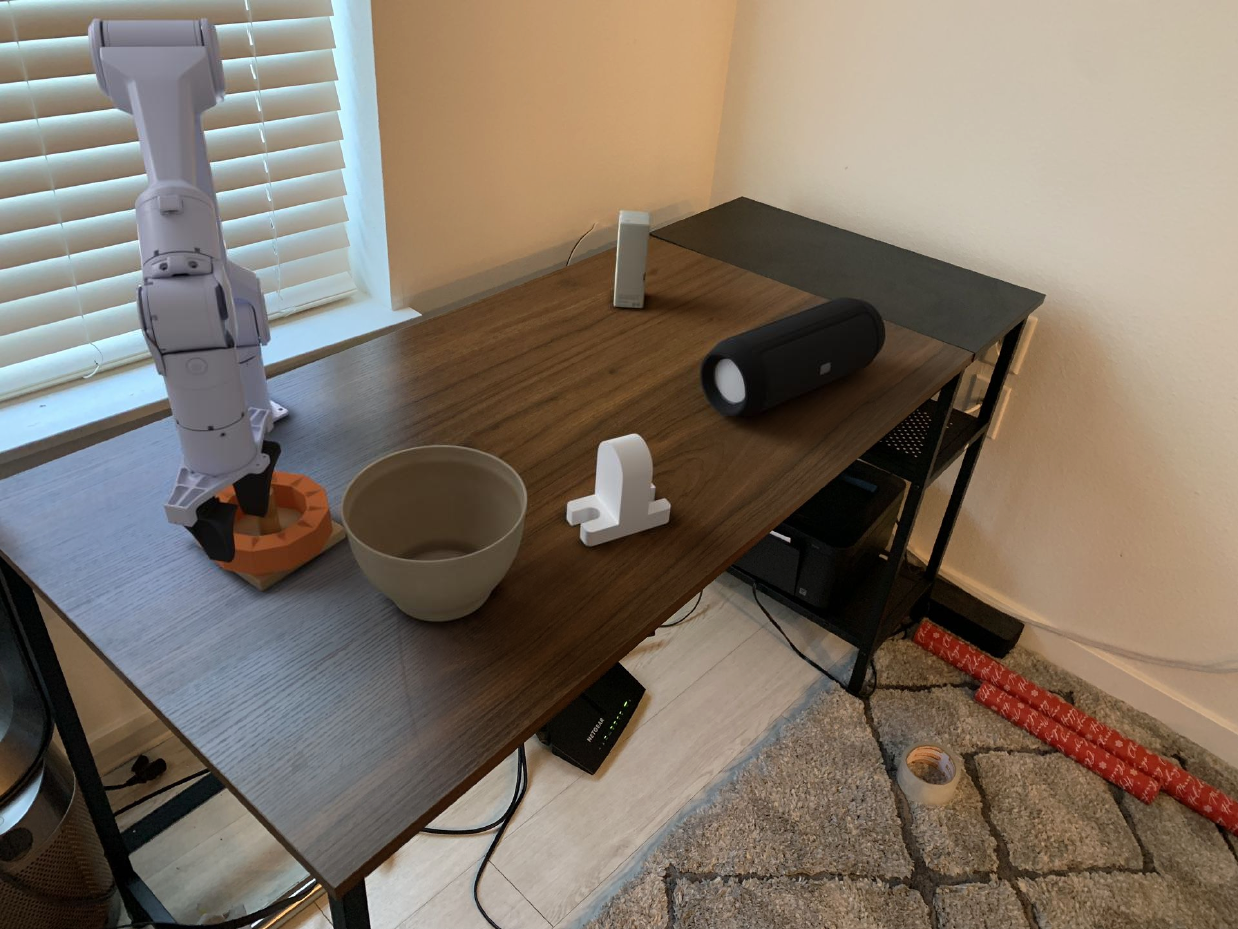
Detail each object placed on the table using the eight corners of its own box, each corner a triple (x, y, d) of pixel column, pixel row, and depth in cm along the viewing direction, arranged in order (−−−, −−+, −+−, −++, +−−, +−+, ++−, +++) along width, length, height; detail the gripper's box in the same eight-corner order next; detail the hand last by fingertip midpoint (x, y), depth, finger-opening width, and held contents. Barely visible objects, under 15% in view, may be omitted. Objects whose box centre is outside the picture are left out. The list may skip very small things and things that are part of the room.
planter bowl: (446, 509, 98) (442, 423, 92) (560, 584, 90) (564, 497, 84) (316, 588, 88) (301, 498, 81) (433, 681, 80) (426, 590, 74)
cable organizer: (671, 521, 99) (681, 445, 93) (587, 547, 95) (592, 469, 89) (646, 492, 103) (654, 417, 97) (564, 516, 99) (568, 438, 93)
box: (643, 309, 136) (651, 225, 129) (612, 307, 136) (619, 223, 129) (643, 293, 141) (650, 210, 133) (613, 291, 140) (619, 208, 133)
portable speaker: (745, 438, 112) (758, 366, 106) (690, 399, 118) (699, 329, 112) (880, 377, 126) (899, 311, 120) (824, 346, 132) (840, 280, 126)
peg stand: (195, 544, 91) (182, 495, 88) (280, 495, 98) (271, 447, 94) (261, 591, 87) (250, 541, 83) (346, 537, 94) (339, 488, 90)
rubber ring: (240, 487, 97) (235, 464, 95) (349, 504, 96) (346, 481, 94) (181, 563, 88) (175, 539, 86) (301, 583, 87) (296, 559, 85)
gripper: (212, 471, 71) (242, 598, 80) (295, 373, 83) (314, 493, 91) (125, 456, 72) (164, 584, 80) (220, 362, 84) (245, 482, 92)
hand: (239, 535), depth 86 cm, fingers open, 6 cm apart
